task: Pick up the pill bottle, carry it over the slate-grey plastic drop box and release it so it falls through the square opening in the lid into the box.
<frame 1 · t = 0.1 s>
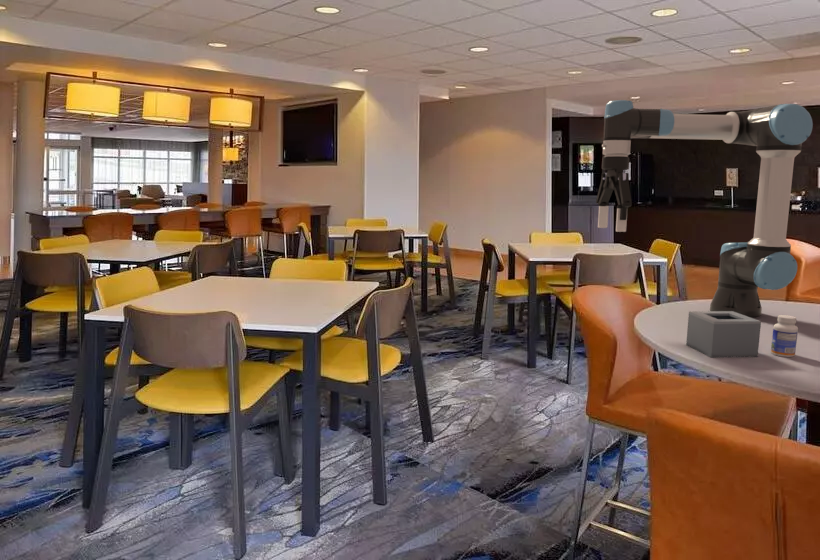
hand: (611, 229, 194), 28 cm above the table, fingers open, 13 cm apart
pill bottle: (782, 355, 165), on the table
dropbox: (720, 350, 168), on the table
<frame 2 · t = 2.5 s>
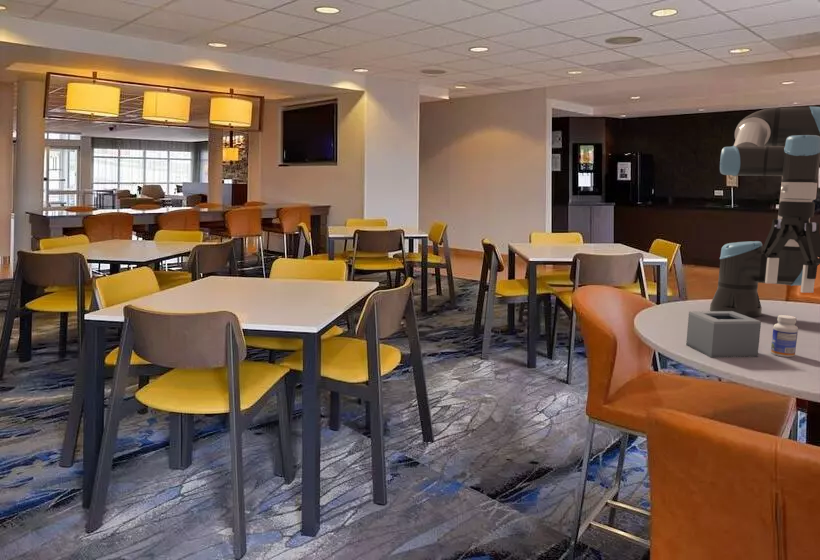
hand: (788, 287, 162), 17 cm above the table, fingers open, 13 cm apart
nothing on the table moved.
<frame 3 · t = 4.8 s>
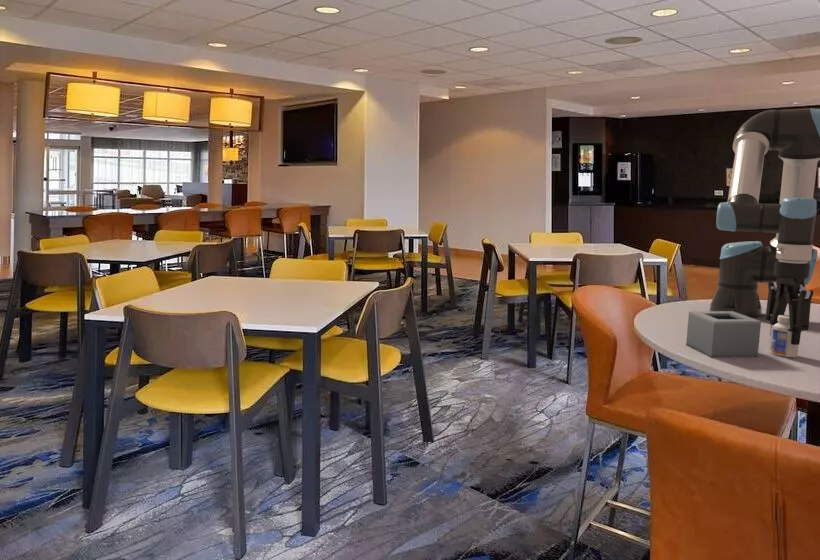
hand: (782, 353, 165), 0 cm above the table, fingers closed on pill bottle, 5 cm apart
pill bottle: (782, 355, 165), on the table, touching gripper
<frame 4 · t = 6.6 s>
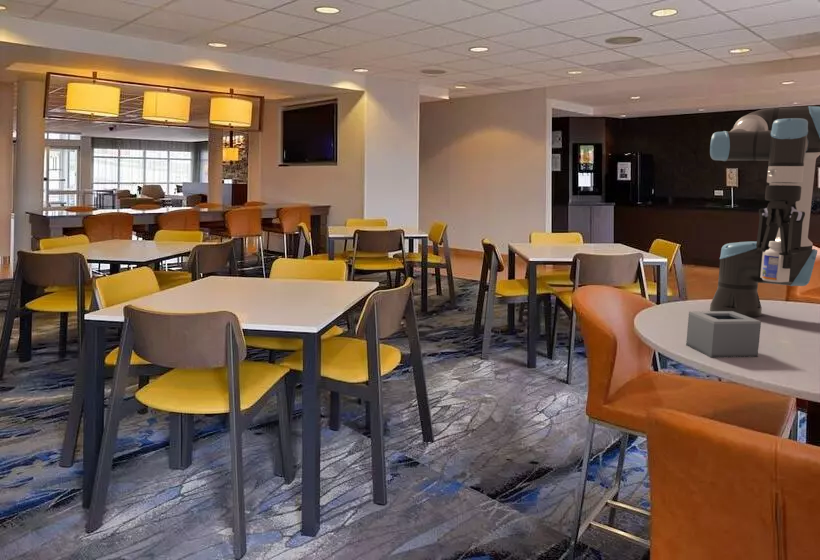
hand: (774, 279, 163), 19 cm above the table, fingers closed on pill bottle, 5 cm apart
pill bottle: (774, 281, 163), point 18 cm above the table, touching gripper
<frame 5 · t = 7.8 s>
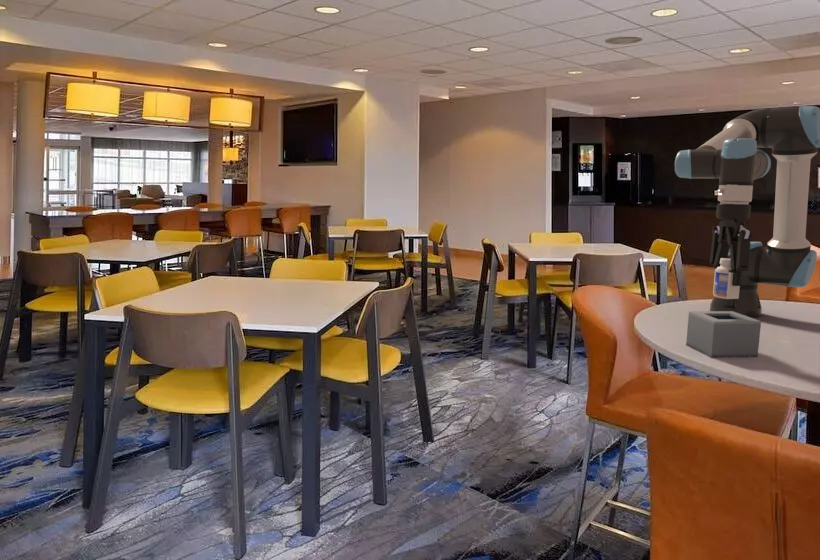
hand: (725, 296, 165), 14 cm above the table, fingers closed on pill bottle, 5 cm apart
pill bottle: (725, 298, 165), point 14 cm above the table, touching gripper
when the fingers open (10 cm above the table, at t = 8.4 s): pill bottle drops 9 cm, resting on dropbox.
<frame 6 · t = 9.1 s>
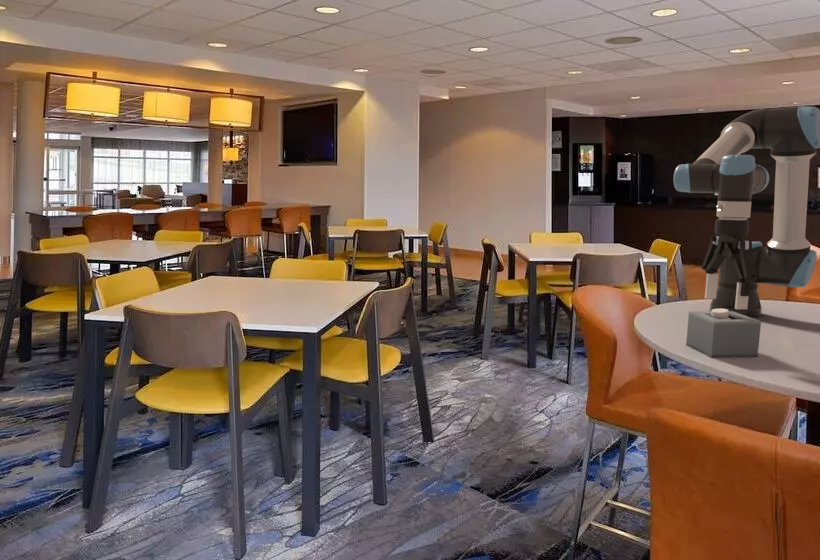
hand: (725, 303, 166), 12 cm above the table, fingers open, 13 cm apart
pill bottle: (720, 348, 167), point 1 cm above the table, touching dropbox
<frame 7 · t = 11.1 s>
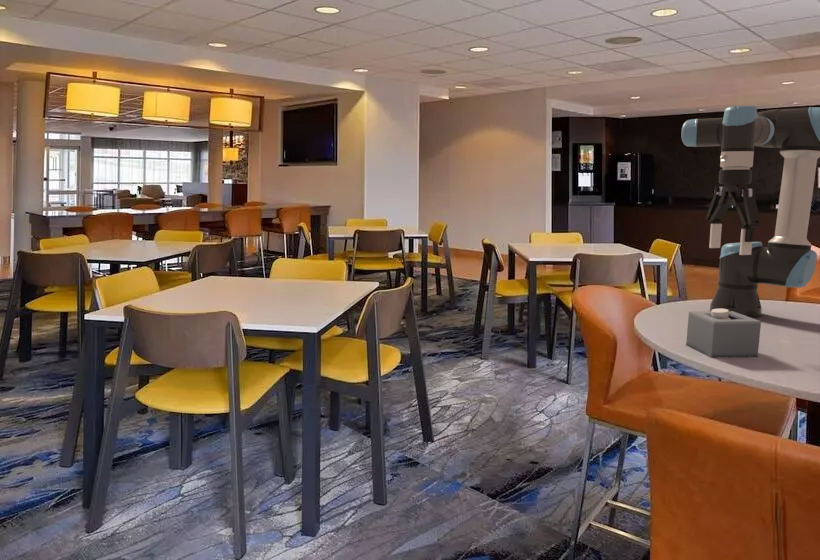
hand: (729, 251, 172), 24 cm above the table, fingers open, 13 cm apart
nothing on the table moved.
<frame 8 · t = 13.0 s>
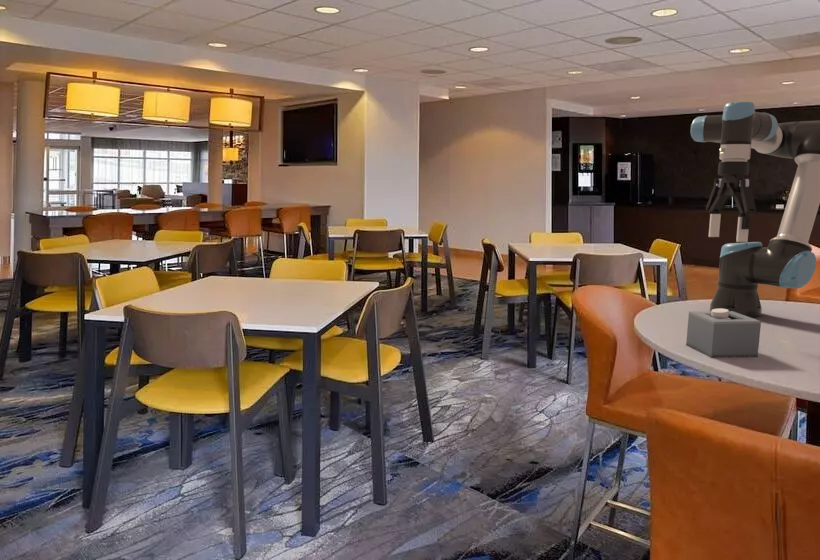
hand: (727, 239, 182), 27 cm above the table, fingers open, 13 cm apart
nothing on the table moved.
at the end: pill bottle inside the target area on the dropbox (0.1 cm from its centre), point 0.8 cm above the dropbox's base; the gripper is holding nothing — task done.
